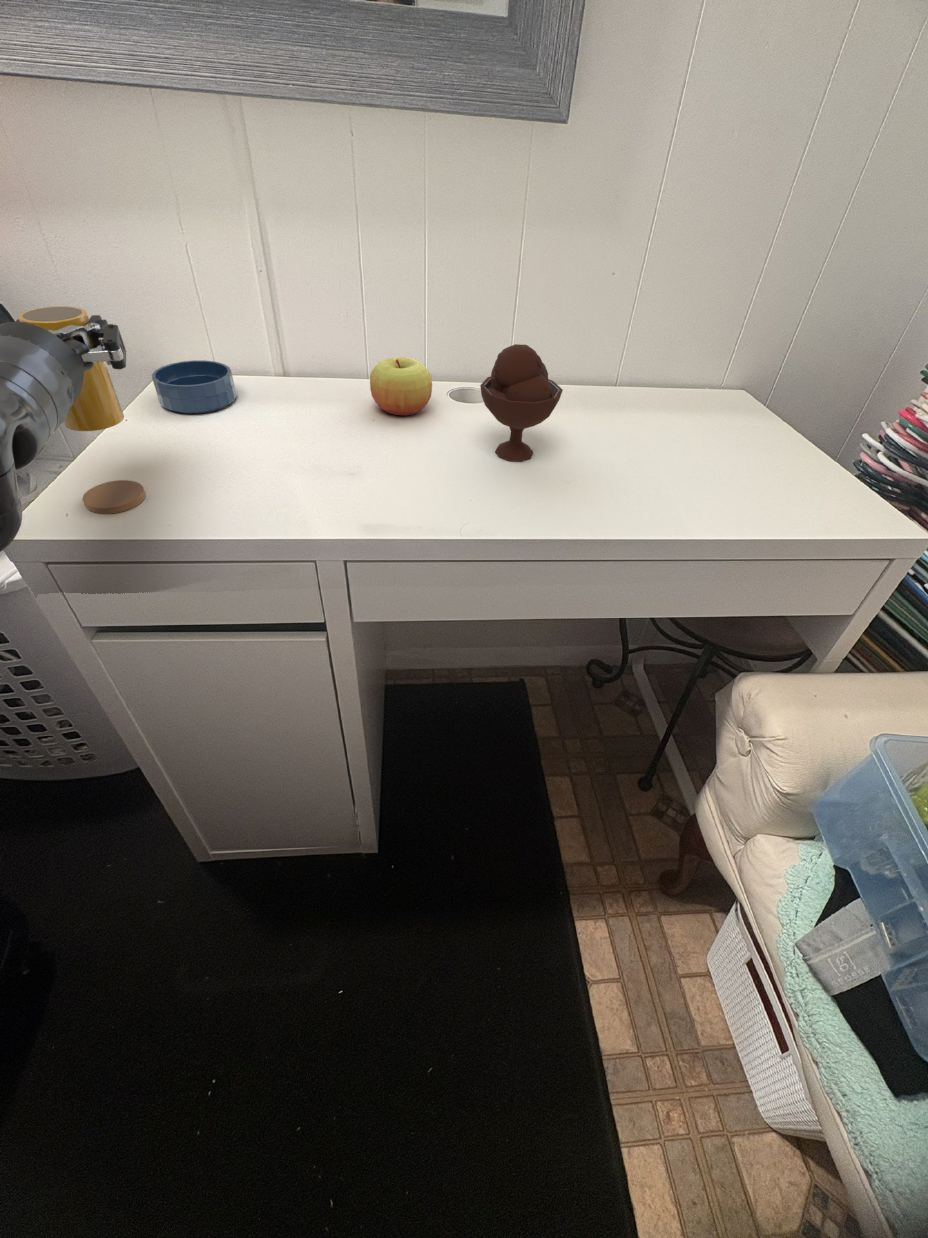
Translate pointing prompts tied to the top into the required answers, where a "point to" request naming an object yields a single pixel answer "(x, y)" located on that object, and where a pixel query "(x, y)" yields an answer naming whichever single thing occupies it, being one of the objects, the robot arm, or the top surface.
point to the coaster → (114, 497)
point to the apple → (401, 385)
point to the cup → (97, 394)
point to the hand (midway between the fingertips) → (65, 326)
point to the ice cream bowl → (519, 397)
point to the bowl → (194, 386)
